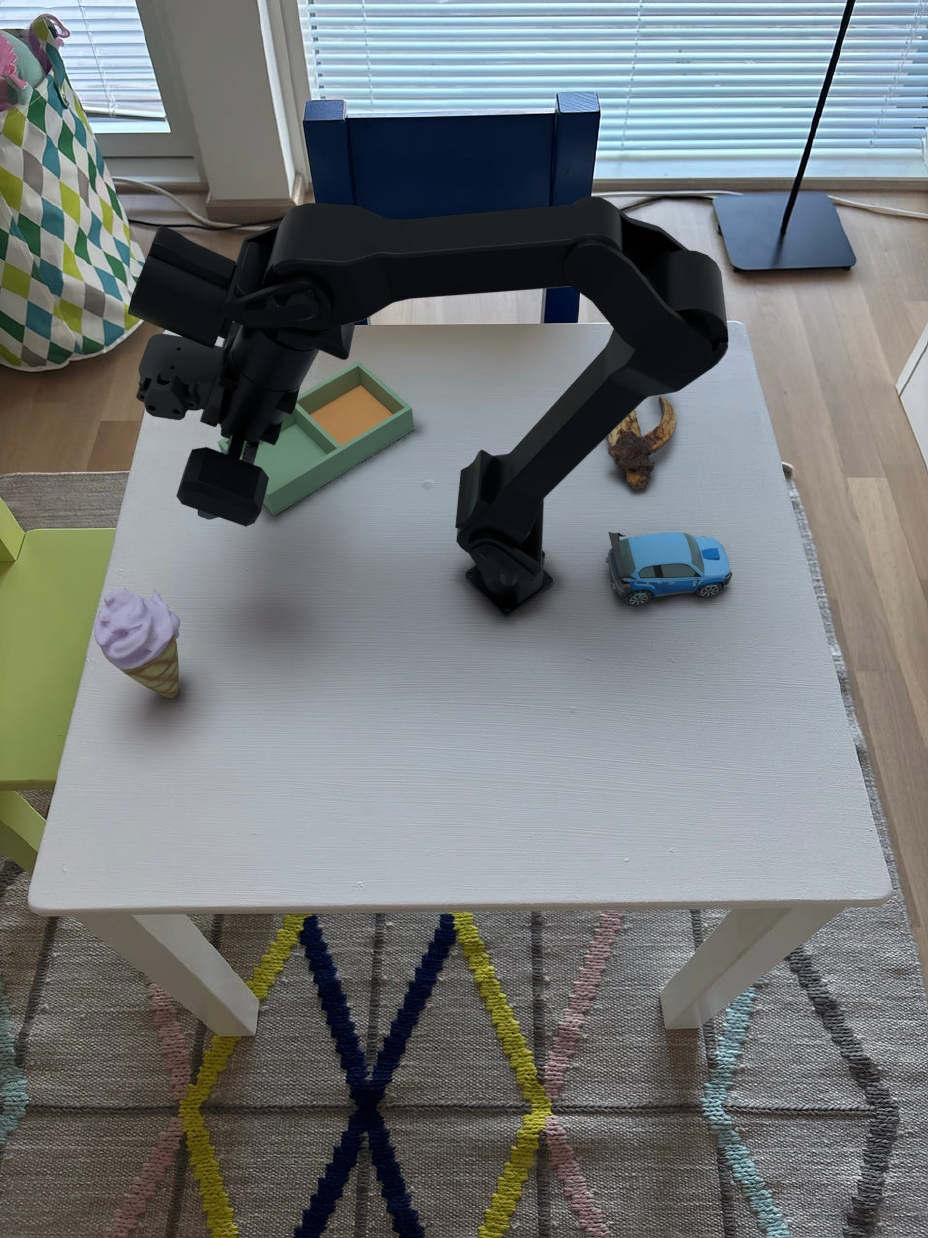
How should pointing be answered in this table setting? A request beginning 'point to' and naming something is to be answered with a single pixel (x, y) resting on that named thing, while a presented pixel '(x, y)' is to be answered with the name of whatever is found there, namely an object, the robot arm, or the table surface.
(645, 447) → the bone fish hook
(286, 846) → the table surface
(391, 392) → the divided tray
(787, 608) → the table surface
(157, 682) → the ice cream cone
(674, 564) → the toy car
